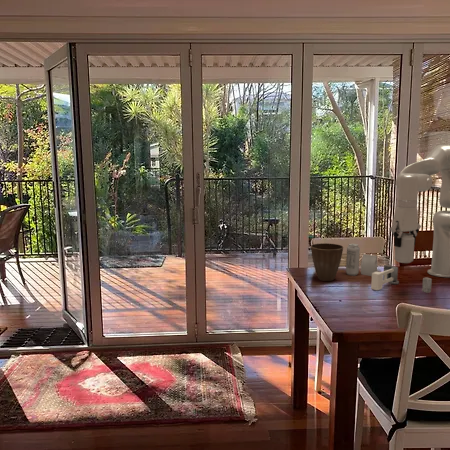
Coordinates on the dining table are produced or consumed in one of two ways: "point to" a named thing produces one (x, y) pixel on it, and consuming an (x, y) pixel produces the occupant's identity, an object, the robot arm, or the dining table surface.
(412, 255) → the can
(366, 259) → the tea bag
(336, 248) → the plant pot
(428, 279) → the post
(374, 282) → the gate
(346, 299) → the dining table surface
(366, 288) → the dining table surface
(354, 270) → the energy drink can
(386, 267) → the hinge mount
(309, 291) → the dining table surface
